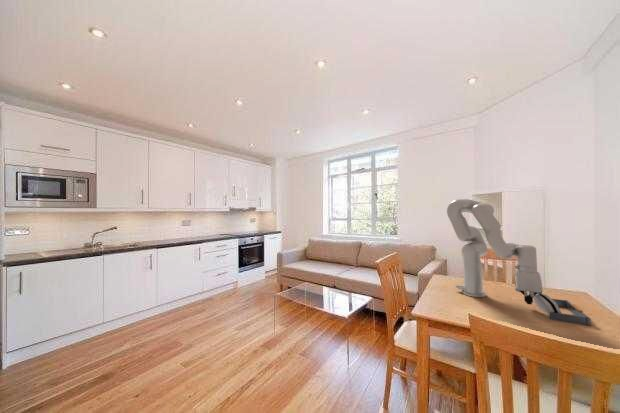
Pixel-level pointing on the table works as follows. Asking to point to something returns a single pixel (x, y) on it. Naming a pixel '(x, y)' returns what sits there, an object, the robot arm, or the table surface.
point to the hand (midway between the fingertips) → (528, 303)
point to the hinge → (546, 303)
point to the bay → (576, 318)
